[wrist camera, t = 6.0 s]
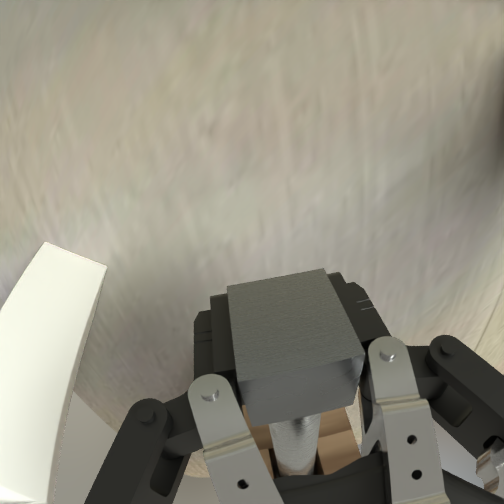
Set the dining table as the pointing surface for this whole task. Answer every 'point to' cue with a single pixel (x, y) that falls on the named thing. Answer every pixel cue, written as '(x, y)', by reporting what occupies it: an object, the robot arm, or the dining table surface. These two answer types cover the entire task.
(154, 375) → the dining table surface
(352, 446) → the bearing block
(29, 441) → the milk
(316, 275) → the shaft
